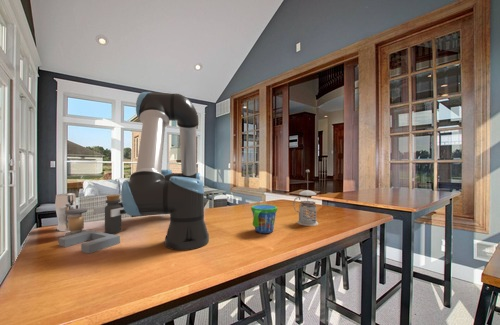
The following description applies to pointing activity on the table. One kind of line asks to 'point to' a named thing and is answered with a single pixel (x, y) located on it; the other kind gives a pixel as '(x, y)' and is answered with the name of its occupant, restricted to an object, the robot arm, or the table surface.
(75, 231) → the bobbin
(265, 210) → the snack cup
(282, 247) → the table surface
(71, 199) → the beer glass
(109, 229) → the bottle
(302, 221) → the french press
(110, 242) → the notch board
